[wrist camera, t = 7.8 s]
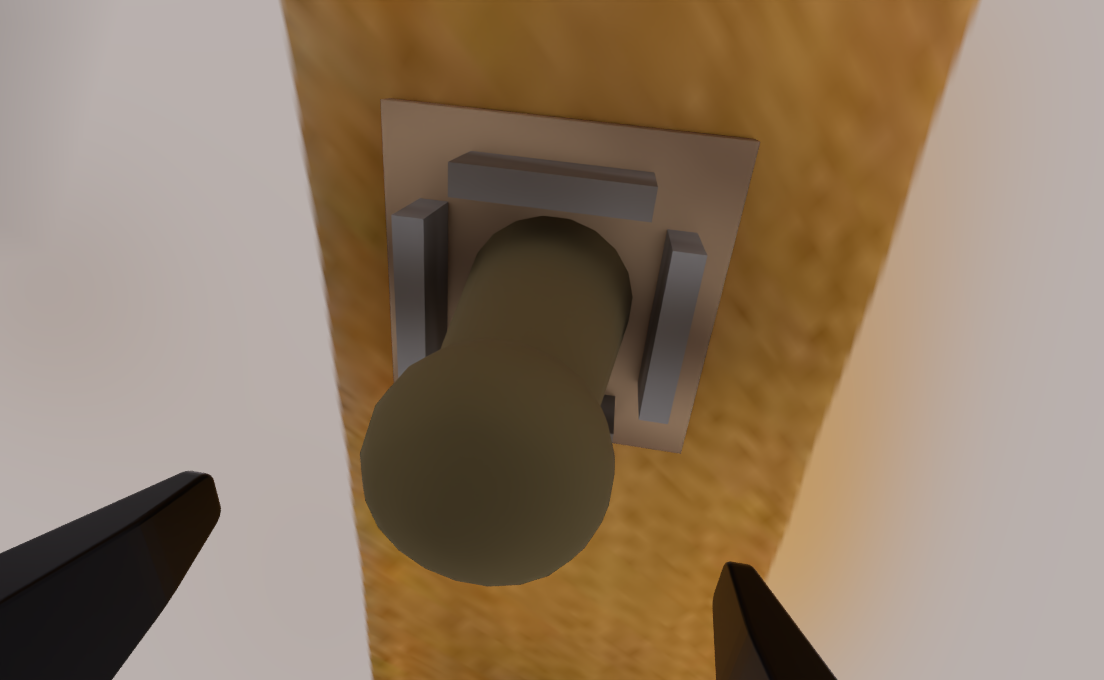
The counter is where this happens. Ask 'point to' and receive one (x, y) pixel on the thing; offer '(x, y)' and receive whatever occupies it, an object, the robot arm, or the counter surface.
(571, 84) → the counter surface
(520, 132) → the clip holder
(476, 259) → the cork
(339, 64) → the counter surface
